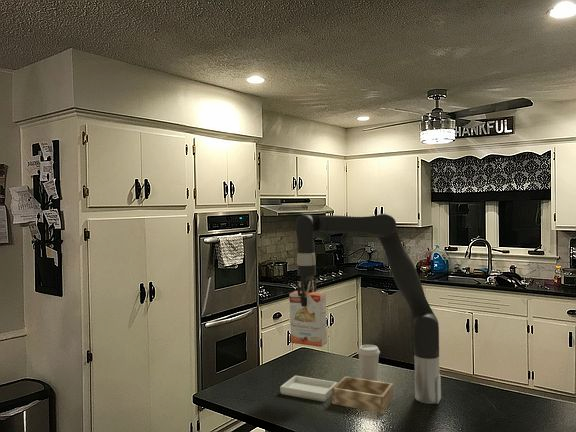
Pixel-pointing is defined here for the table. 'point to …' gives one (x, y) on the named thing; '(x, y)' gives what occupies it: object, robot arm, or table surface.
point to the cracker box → (308, 319)
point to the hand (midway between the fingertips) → (307, 304)
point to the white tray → (308, 388)
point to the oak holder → (363, 394)
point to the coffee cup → (368, 361)
